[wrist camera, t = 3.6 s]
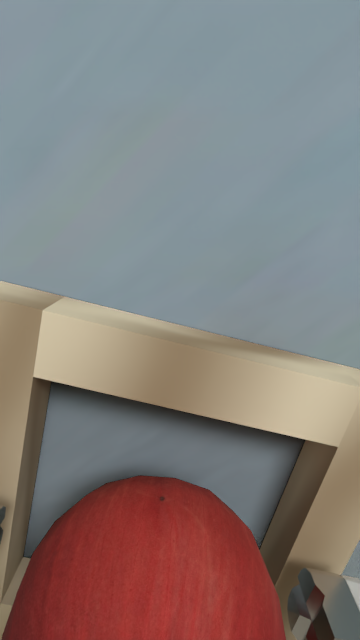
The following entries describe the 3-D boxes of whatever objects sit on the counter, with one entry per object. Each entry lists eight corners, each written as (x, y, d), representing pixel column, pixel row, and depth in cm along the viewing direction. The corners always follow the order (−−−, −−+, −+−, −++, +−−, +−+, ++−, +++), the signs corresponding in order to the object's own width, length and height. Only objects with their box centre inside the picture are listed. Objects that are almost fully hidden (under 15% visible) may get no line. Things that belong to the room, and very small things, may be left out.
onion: (202, 577, 12) (238, 1214, 4) (49, 527, 11) (-231, 1160, 4) (276, 451, 10) (539, 1085, 3) (104, 387, 10) (-174, 960, 2)
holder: (393, 377, 10) (430, 404, 8) (268, 639, 13) (279, 692, 11) (1, 280, 9) (-33, 291, 8) (-31, 582, 12) (-60, 631, 11)
